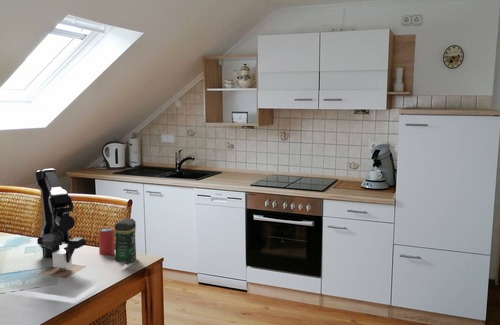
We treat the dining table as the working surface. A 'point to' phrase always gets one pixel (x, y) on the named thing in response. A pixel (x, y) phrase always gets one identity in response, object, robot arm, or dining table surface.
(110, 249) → the beer can
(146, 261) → the dining table surface
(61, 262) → the white block
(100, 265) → the dining table surface
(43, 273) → the post base
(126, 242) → the coffee jar
